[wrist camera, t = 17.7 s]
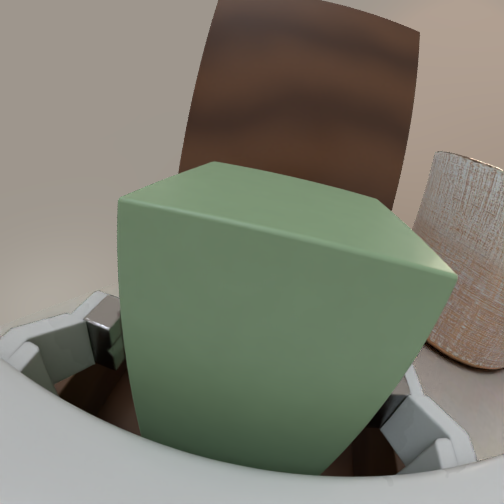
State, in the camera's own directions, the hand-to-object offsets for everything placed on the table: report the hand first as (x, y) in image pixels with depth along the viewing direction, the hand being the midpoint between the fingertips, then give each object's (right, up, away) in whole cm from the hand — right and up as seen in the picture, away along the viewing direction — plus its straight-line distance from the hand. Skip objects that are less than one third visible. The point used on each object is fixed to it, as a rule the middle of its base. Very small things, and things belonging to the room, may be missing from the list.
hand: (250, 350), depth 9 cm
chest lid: (+3, +11, +7) cm, 13 cm away
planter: (+22, -5, +16) cm, 28 cm away
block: (-1, -6, +1) cm, 6 cm away
